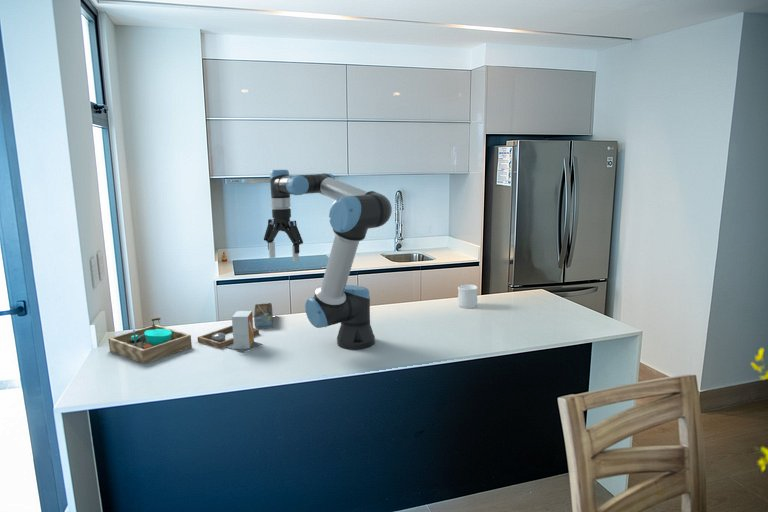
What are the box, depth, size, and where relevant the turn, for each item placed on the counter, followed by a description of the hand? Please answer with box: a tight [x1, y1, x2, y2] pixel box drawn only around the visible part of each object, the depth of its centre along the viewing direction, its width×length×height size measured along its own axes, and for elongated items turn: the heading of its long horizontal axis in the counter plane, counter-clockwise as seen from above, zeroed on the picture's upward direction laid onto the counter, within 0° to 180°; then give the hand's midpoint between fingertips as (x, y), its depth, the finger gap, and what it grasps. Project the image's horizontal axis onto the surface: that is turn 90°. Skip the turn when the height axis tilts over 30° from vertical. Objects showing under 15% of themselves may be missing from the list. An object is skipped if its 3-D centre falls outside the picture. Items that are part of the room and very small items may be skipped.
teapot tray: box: [108, 324, 193, 365], centre depth 205 cm, size 24×20×5 cm
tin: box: [211, 333, 227, 342], centre depth 213 cm, size 5×5×3 cm
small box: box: [231, 310, 255, 349], centre depth 206 cm, size 8×6×13 cm
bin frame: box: [197, 325, 260, 350], centre depth 217 cm, size 14×20×2 cm
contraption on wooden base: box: [125, 317, 172, 349], centre depth 204 cm, size 14×18×15 cm
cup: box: [457, 283, 479, 309], centre depth 256 cm, size 10×10×10 cm
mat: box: [225, 341, 263, 354], centre depth 207 cm, size 10×10×1 cm
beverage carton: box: [253, 302, 274, 330], centre depth 237 cm, size 8×19×7 cm, turn 12°
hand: (284, 259), depth 216 cm, fingers open, 13 cm apart
